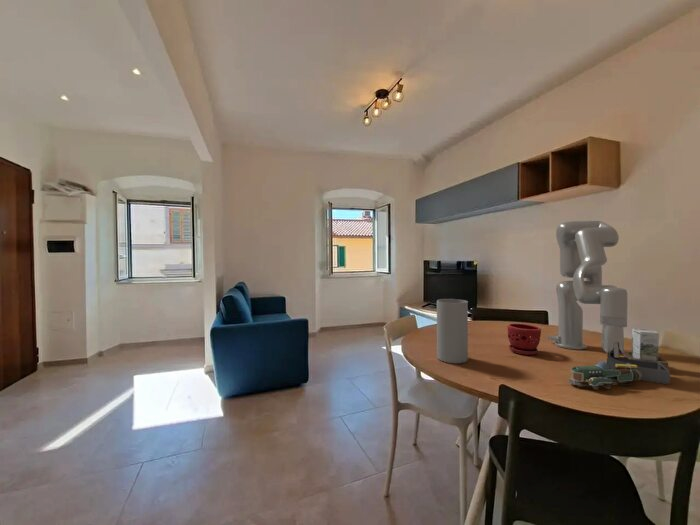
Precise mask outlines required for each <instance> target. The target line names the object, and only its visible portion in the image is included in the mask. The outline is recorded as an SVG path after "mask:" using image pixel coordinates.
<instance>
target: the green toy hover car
mask: <svg viewBox="0 0 700 525" xmlns="http://www.w3.org/2000/svg"><path fill="white" fill-rule="evenodd" d="M606 363H607V362H606V361H604V360H600V361H598V362H596V363H595V364H594V365H582V366H580V365H576V366H573V367H571V369H570V377H569V379H568V380H567V381H568V382H569V383H570V384H571V386H573V387H575V388H579V389H581V388H586V387H588V386H592V389H594V390H599V389H600V386H601V387H602V386H603V387H605V389H611V385H614V384H615V385H616V384H618V385H620V386H623V387H627V386H629V385H633V381H640V380H639V379H640V378H641V377H642V374H641V373H640V372H639V371H638V370H636V369H631V365H630V369H626V368H625V369H613V370H612V369H611V368H610V369H609V367H608V365H607V364H606ZM627 364H629V363H627ZM627 364H626V366H627ZM627 367H628V366H627ZM632 380H633V381H632ZM587 381H588V383H587V385H583V386H581V385H582V383H585V382H587Z"/></svg>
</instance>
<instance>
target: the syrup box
mask: <svg viewBox="0 0 700 525" xmlns="http://www.w3.org/2000/svg"><path fill="white" fill-rule="evenodd" d="M631 330H632V331H631V332H632V333H631V352H632V357H633V358H638V359H646V360H654V361H658V355H659V347H660V346H659V342H660V341H659V340H660V333H659V332H657V331H655V330H653V329H650V328H649V329H648V328H647V329H646V328H632V329H631Z"/></svg>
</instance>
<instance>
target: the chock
mask: <svg viewBox="0 0 700 525" xmlns="http://www.w3.org/2000/svg"><path fill="white" fill-rule="evenodd" d="M605 363H606V364H607V365H608V367H609V369H610V368H611V369H612V370H613V369H625V368H626V369H630V365H631V369H636V368H637V365H635V364H634V363H633V362H632V361H631V360H629V359H628V358H627V357H624V356H619V358H614V357H608V359H607V358H606V362H605ZM627 363H629V364H627ZM626 364H627V366H628V367H627V366H626Z"/></svg>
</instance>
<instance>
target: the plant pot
mask: <svg viewBox="0 0 700 525" xmlns="http://www.w3.org/2000/svg"><path fill="white" fill-rule="evenodd" d="M541 335H542V328H541V327H539V326H535V325H532V324H527V323H526V324H523V323H509V324H508V325H507V338H508V342H509V345H508V348H509V350H510V351H511V352H513V353H515V354H519V355H526V356H529V355H531V356H532V355H536V354H538V352H539V349H538V346H540V345H539V344H540V341H541Z"/></svg>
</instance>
